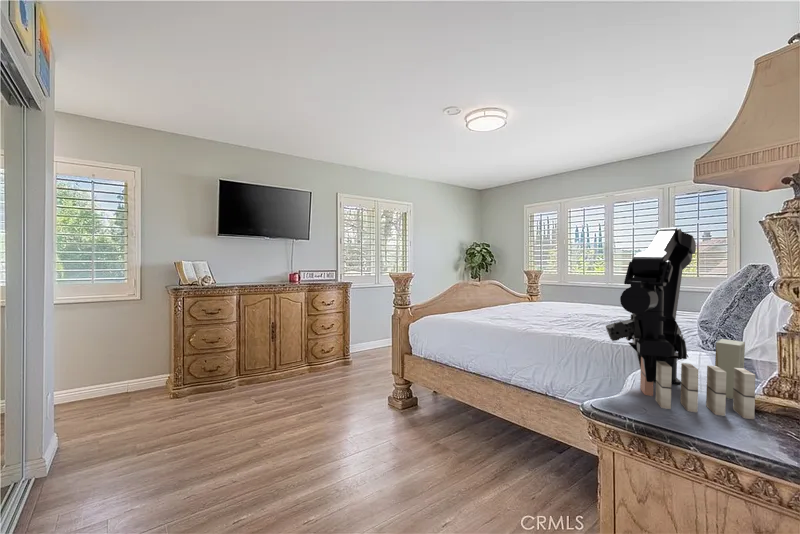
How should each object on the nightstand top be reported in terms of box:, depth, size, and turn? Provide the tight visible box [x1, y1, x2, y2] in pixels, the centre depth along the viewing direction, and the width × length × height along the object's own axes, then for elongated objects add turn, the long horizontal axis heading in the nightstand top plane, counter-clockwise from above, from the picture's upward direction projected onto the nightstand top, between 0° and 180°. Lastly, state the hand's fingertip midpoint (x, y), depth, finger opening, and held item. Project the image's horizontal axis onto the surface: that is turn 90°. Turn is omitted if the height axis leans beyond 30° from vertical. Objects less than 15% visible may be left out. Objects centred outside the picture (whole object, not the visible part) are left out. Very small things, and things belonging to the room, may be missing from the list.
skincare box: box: [714, 338, 746, 400], centre depth 90 cm, size 6×4×12 cm
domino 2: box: [680, 362, 699, 413], centre depth 82 cm, size 5×2×8 cm, turn 159°
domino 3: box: [732, 367, 756, 420], centre depth 79 cm, size 5×2×8 cm, turn 159°
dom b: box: [655, 361, 672, 410], centre depth 84 cm, size 5×2×8 cm, turn 159°
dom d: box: [705, 364, 727, 417], centre depth 80 cm, size 5×2×8 cm, turn 159°
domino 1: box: [639, 357, 654, 397], centre depth 92 cm, size 5×2×8 cm, turn 159°
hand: (646, 378), depth 92 cm, fingers closed on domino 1, 5 cm apart
